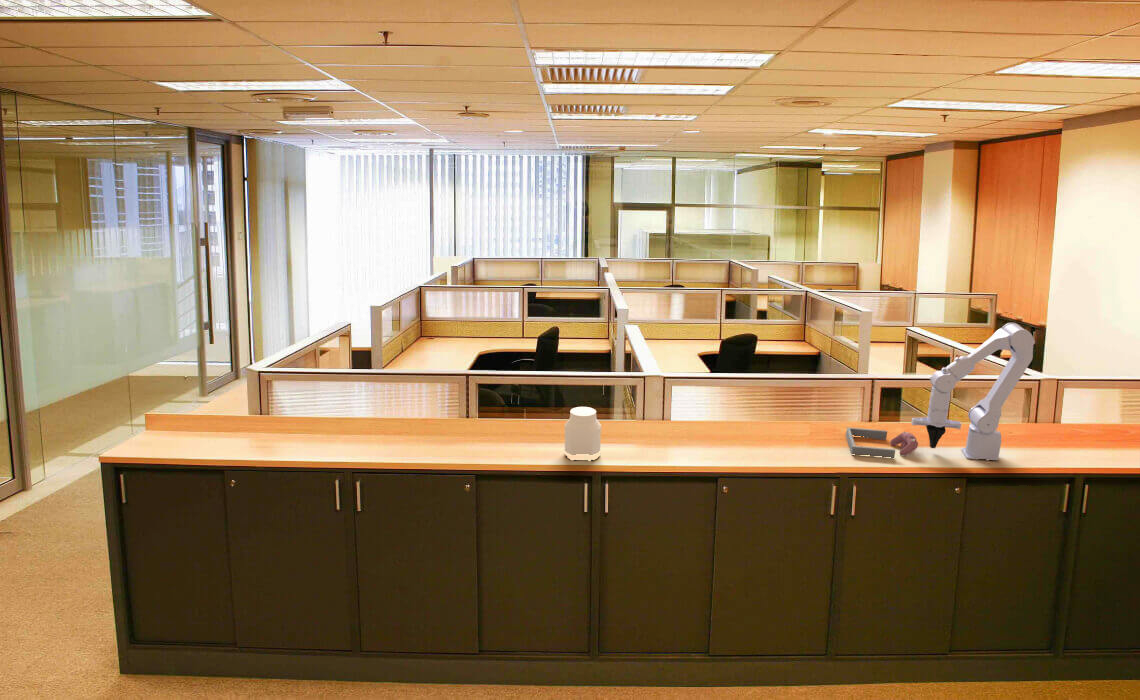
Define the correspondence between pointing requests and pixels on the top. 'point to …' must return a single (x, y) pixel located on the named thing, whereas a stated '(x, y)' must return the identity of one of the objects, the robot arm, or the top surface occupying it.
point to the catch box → (868, 450)
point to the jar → (582, 432)
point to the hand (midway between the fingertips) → (932, 447)
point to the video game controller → (905, 443)
